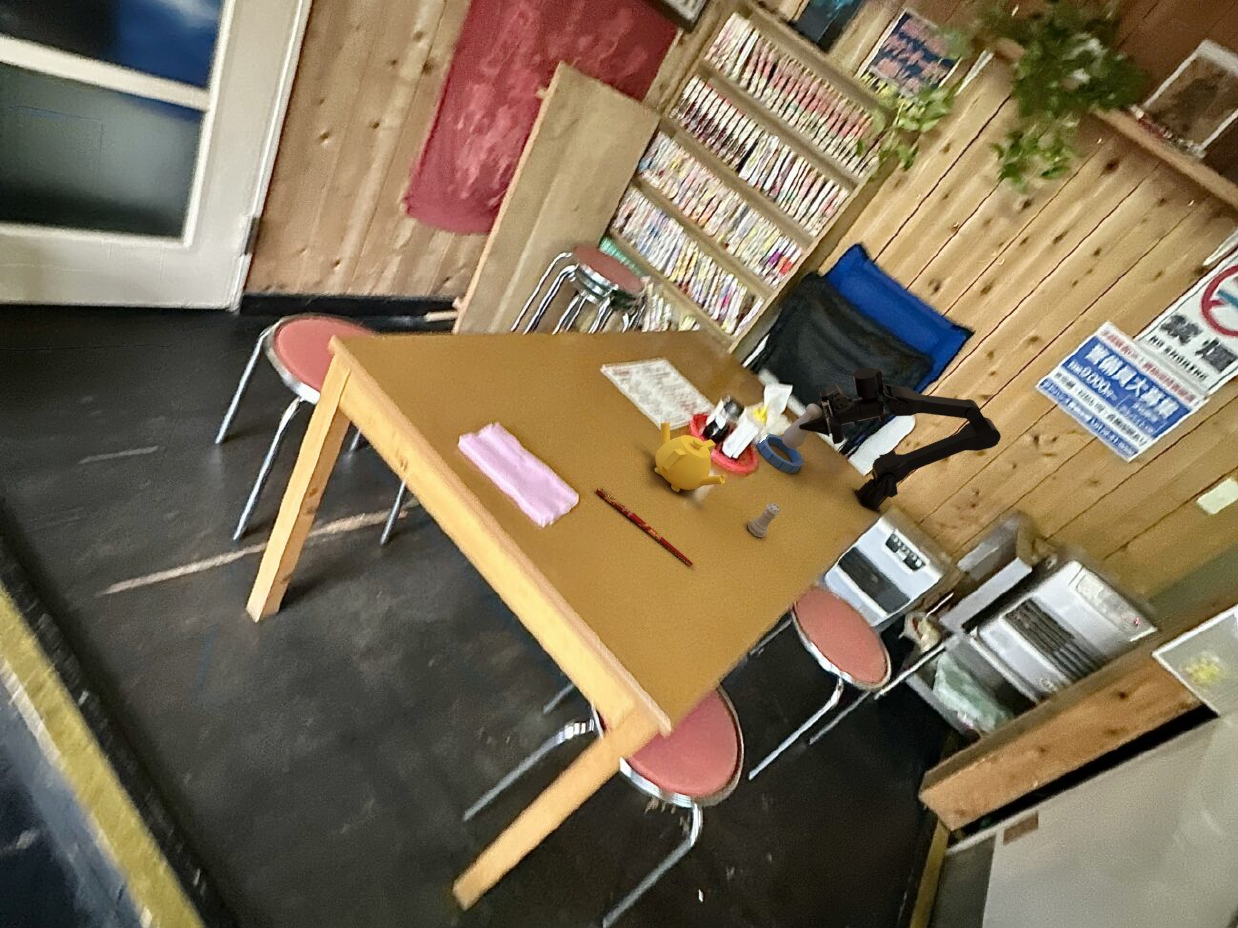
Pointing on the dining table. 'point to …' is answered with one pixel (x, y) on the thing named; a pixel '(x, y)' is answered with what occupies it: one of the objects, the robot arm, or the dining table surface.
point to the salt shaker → (797, 436)
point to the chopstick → (644, 526)
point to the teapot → (685, 461)
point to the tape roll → (776, 459)
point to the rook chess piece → (763, 520)
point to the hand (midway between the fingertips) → (798, 423)
